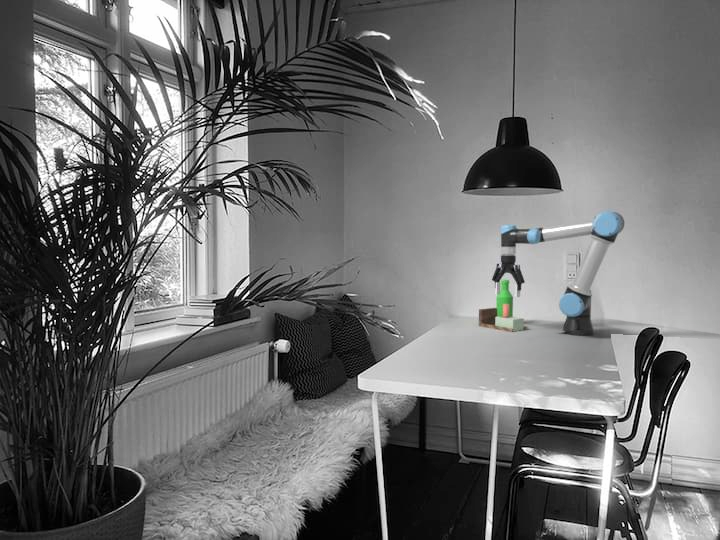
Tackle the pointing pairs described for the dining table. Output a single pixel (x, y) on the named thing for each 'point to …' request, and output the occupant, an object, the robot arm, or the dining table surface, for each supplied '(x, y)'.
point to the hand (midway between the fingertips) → (507, 295)
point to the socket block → (510, 322)
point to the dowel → (506, 310)
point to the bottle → (504, 299)
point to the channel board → (491, 319)
